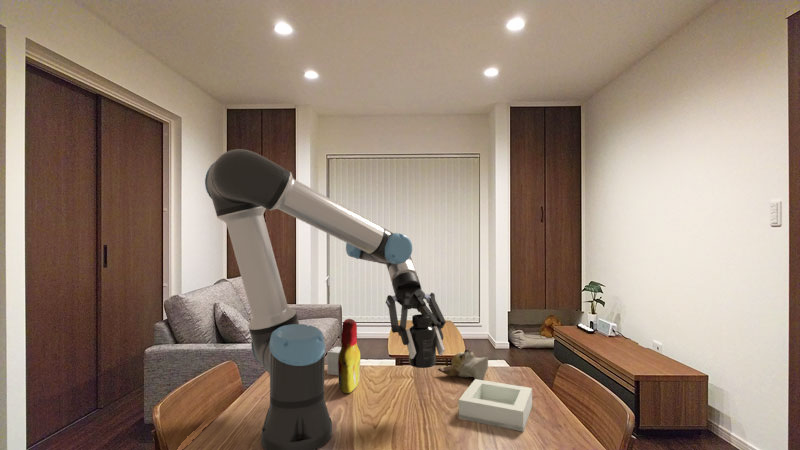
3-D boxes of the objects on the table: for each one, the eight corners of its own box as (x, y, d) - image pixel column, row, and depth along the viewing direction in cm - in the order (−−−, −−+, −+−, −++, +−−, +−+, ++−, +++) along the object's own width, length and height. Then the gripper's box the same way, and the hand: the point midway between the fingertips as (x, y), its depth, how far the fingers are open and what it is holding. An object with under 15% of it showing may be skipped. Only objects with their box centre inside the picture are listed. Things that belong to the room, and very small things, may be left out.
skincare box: (352, 370, 129) (352, 347, 129) (343, 376, 123) (343, 353, 123) (336, 368, 131) (336, 346, 131) (326, 374, 125) (326, 351, 125)
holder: (458, 418, 94) (458, 399, 95) (475, 395, 108) (475, 379, 108) (523, 431, 88) (523, 411, 88) (532, 405, 101) (531, 388, 101)
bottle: (356, 397, 107) (356, 323, 108) (333, 396, 108) (333, 323, 108) (362, 380, 119) (362, 314, 120) (342, 380, 120) (342, 314, 120)
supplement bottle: (436, 360, 101) (436, 313, 101) (435, 369, 94) (435, 319, 94) (409, 359, 101) (409, 312, 102) (407, 368, 95) (407, 318, 95)
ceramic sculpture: (480, 356, 114) (435, 351, 123) (482, 386, 114) (437, 379, 122) (493, 348, 123) (451, 343, 132) (495, 376, 123) (452, 369, 131)
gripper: (432, 285, 116) (459, 357, 100) (368, 289, 109) (385, 366, 94) (440, 269, 111) (469, 342, 95) (373, 272, 104) (392, 350, 89)
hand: (427, 354), depth 95 cm, fingers closed on supplement bottle, 7 cm apart
